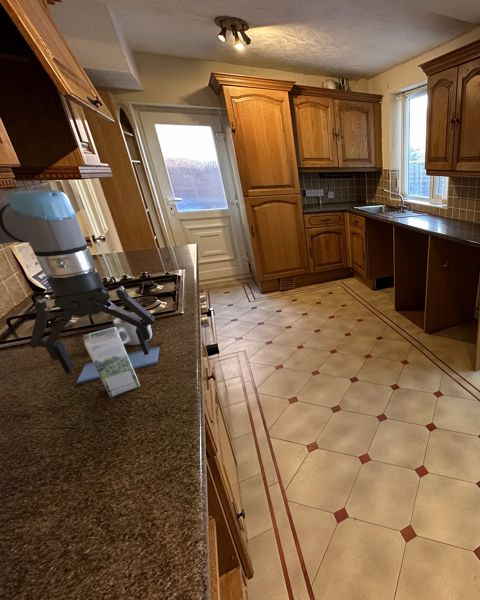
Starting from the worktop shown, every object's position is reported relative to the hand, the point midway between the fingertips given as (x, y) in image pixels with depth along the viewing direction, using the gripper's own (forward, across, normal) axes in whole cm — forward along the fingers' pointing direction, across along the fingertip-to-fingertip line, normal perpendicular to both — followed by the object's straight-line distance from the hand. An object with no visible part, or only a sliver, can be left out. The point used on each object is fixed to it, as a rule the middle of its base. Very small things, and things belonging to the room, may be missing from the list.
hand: (110, 360), depth 73 cm
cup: (+8, 0, +23) cm, 24 cm away
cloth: (+8, -2, +12) cm, 14 cm away
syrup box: (+8, 0, 0) cm, 8 cm away
